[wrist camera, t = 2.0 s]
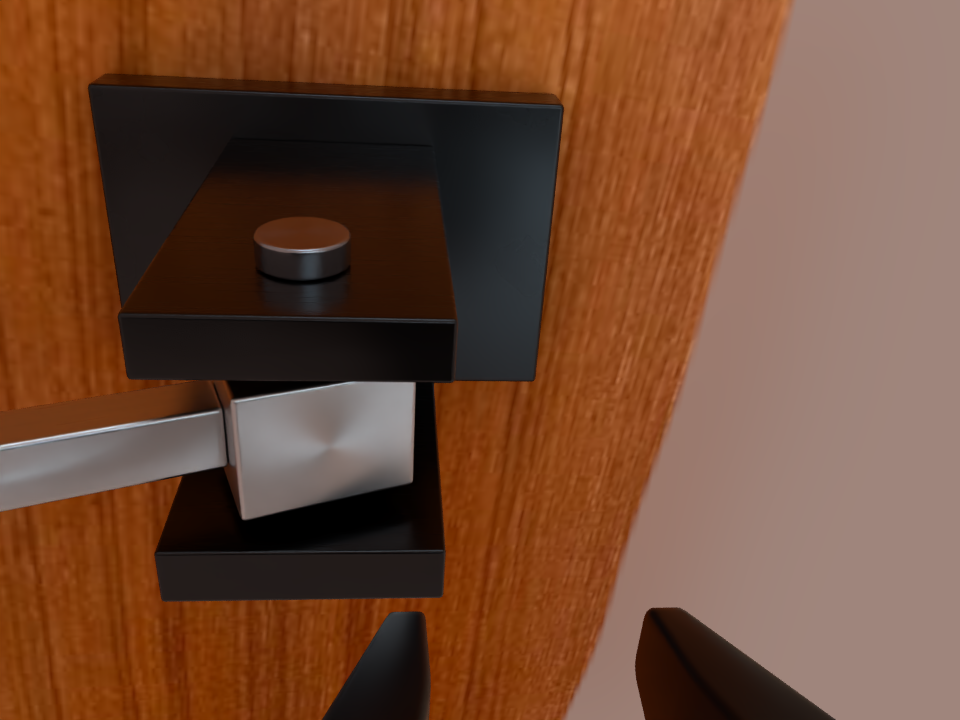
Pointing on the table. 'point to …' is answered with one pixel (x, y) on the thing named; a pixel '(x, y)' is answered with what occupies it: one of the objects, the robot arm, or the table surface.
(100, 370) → the table surface
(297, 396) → the lever
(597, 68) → the table surface
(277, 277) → the bracket
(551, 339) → the table surface
